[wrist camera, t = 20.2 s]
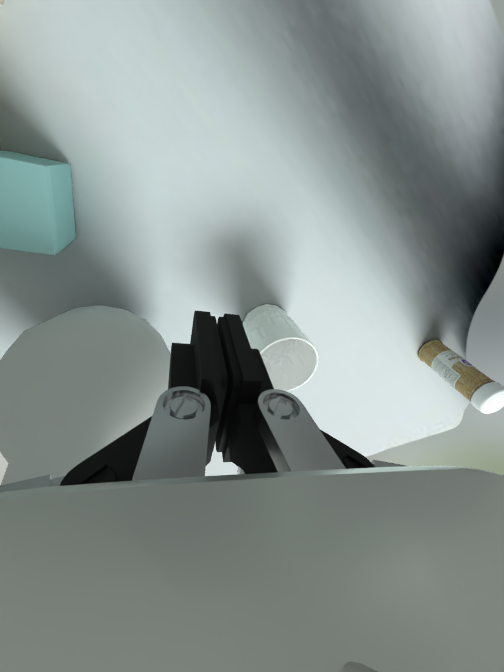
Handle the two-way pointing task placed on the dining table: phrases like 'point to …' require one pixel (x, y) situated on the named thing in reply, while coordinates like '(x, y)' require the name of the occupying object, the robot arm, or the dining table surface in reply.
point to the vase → (77, 388)
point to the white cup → (281, 346)
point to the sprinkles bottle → (463, 377)
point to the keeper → (35, 204)
